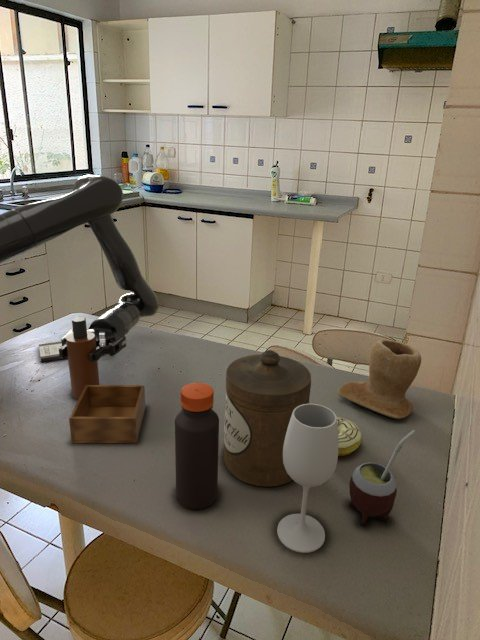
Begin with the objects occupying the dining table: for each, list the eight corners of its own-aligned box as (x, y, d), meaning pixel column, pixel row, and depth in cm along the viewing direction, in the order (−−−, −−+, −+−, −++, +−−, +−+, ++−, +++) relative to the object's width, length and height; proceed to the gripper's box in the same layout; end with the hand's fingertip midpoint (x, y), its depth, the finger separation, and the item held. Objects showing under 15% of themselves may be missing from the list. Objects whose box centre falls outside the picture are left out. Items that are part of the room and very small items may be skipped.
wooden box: (71, 443, 88) (68, 418, 86) (87, 407, 99) (85, 384, 97) (136, 443, 89) (135, 418, 86) (145, 407, 100) (144, 385, 98)
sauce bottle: (68, 399, 102) (59, 324, 95) (76, 386, 107) (68, 313, 100) (96, 400, 102) (89, 324, 95) (102, 386, 107) (96, 314, 101)
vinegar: (221, 484, 79) (224, 382, 71) (211, 514, 73) (213, 405, 65) (183, 478, 80) (182, 376, 73) (170, 506, 74) (167, 398, 66)
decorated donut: (327, 420, 98) (329, 405, 97) (370, 445, 90) (373, 429, 89) (293, 438, 92) (295, 422, 90) (336, 467, 84) (339, 450, 83)
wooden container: (222, 435, 92) (225, 333, 84) (296, 434, 93) (306, 334, 85) (224, 488, 78) (227, 373, 70) (311, 487, 79) (324, 374, 71)
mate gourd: (339, 517, 73) (351, 439, 67) (355, 488, 79) (368, 414, 74) (386, 539, 70) (403, 458, 64) (399, 506, 76) (416, 429, 70)
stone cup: (421, 406, 104) (434, 346, 99) (398, 428, 96) (411, 364, 90) (360, 382, 114) (369, 326, 108) (335, 400, 105) (343, 341, 100)
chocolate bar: (113, 347, 124) (40, 358, 116) (113, 351, 124) (41, 362, 117) (107, 335, 131) (38, 344, 124) (107, 338, 132) (39, 347, 124)
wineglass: (315, 510, 74) (329, 398, 66) (334, 549, 67) (352, 429, 60) (270, 517, 73) (279, 402, 65) (284, 557, 66) (297, 435, 58)
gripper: (83, 309, 113) (43, 336, 98) (138, 315, 111) (106, 344, 96) (86, 337, 116) (47, 367, 101) (140, 344, 114) (108, 376, 98)
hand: (76, 356), depth 98 cm, fingers open, 6 cm apart
